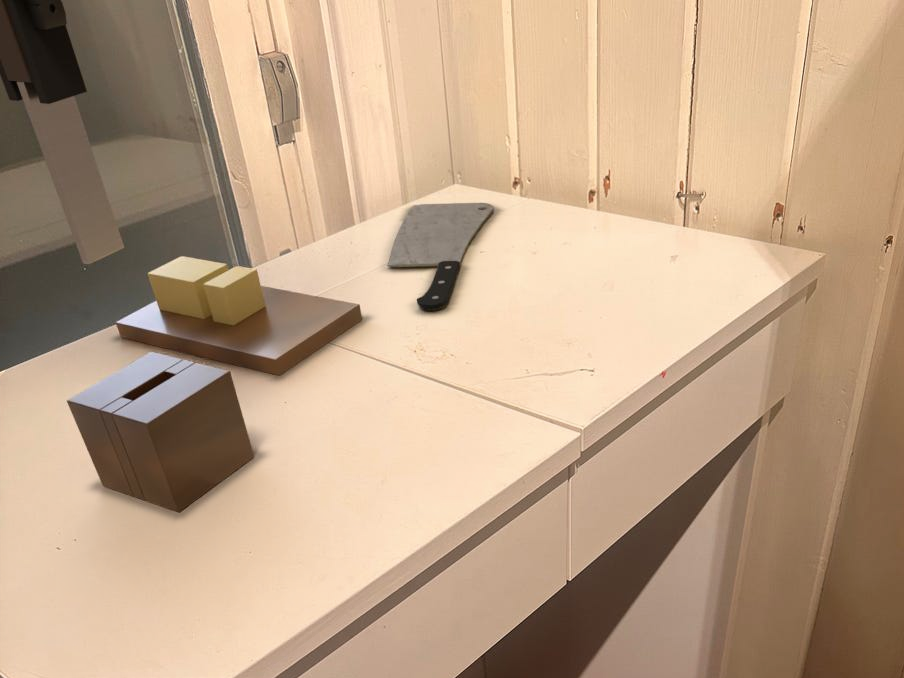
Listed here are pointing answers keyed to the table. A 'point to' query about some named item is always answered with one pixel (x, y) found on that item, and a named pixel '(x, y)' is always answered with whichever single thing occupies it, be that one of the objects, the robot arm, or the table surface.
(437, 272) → the cleaver
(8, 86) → the robot arm
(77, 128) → the knife
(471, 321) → the table surface
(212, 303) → the block
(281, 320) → the board
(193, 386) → the knife block
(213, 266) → the butter block
